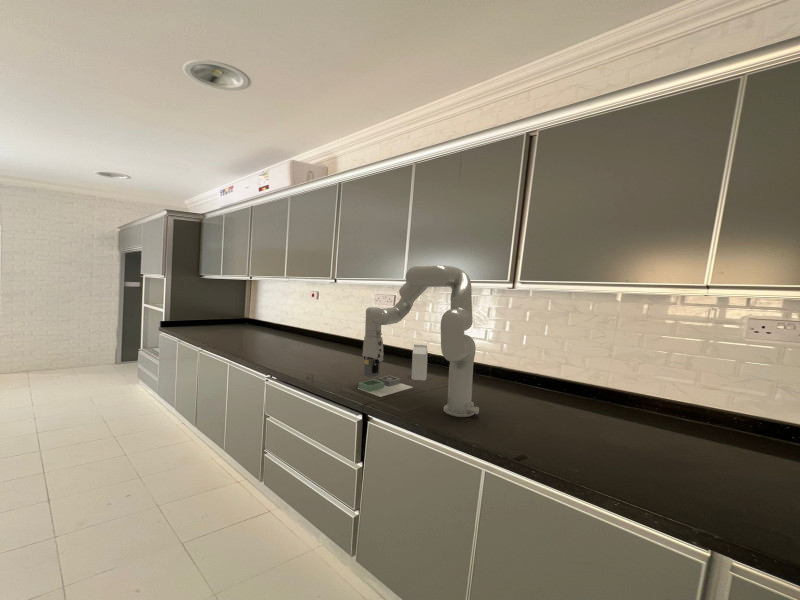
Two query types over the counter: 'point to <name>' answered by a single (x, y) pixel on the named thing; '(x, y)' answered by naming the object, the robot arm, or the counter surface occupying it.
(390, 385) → the board
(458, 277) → the robot arm
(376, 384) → the green rectangular frame
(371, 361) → the plug
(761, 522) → the counter surface
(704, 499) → the counter surface
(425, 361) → the milk carton
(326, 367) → the counter surface
